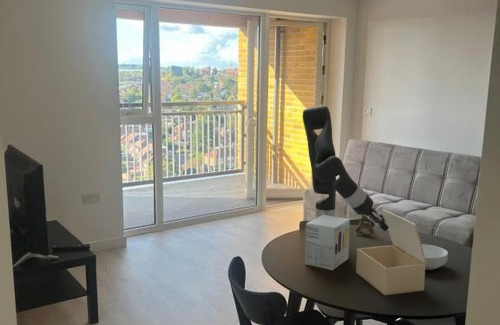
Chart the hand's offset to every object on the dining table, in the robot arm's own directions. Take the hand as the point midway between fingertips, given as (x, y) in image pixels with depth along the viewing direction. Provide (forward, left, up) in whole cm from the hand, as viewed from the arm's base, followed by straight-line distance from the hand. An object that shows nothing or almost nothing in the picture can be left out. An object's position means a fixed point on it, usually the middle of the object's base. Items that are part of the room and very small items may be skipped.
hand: (386, 229), depth 180 cm
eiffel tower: (-9, +61, -21) cm, 65 cm away
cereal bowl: (+17, +21, -21) cm, 34 cm away
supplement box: (-23, +16, -21) cm, 35 cm away
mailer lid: (+6, +4, -3) cm, 8 cm away
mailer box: (+2, +1, -21) cm, 21 cm away
